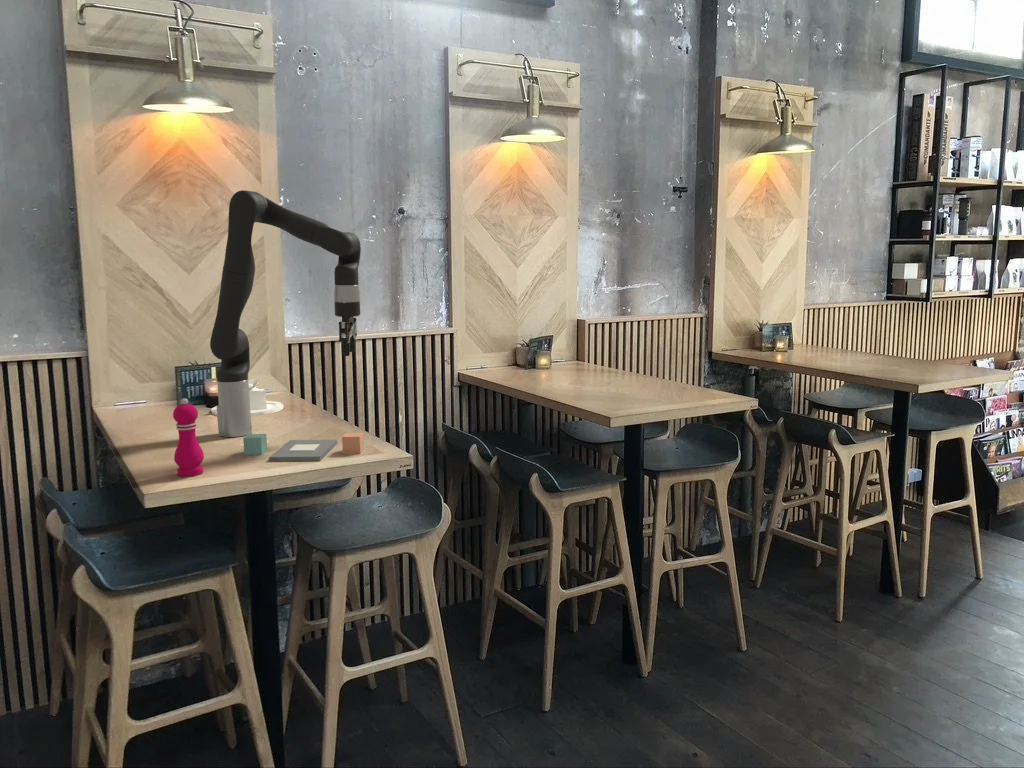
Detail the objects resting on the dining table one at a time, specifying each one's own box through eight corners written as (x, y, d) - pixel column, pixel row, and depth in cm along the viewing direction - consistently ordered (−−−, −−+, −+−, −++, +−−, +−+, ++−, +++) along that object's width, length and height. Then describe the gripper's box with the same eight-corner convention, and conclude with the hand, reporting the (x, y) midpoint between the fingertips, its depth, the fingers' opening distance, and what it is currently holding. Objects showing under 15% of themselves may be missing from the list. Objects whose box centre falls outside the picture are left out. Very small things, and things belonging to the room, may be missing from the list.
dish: (263, 401, 323) (261, 372, 321) (295, 410, 305) (293, 379, 303) (200, 410, 307) (197, 380, 305) (230, 420, 289) (227, 388, 287)
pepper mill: (180, 470, 224) (174, 396, 220) (208, 469, 224) (202, 395, 221) (171, 478, 217) (165, 401, 213) (200, 477, 217) (194, 400, 214)
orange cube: (342, 454, 239) (341, 436, 238) (346, 449, 244) (345, 432, 243) (360, 454, 239) (359, 436, 238) (364, 449, 244) (363, 432, 243)
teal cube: (244, 455, 240) (243, 438, 239) (250, 450, 245) (249, 434, 244) (262, 455, 239) (260, 437, 239) (267, 450, 244) (266, 433, 244)
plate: (269, 461, 232) (269, 456, 232) (290, 444, 252) (290, 439, 251) (320, 460, 231) (320, 455, 231) (337, 443, 251) (336, 438, 251)
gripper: (339, 298, 260) (341, 350, 263) (329, 301, 246) (331, 357, 249) (364, 298, 260) (365, 350, 263) (355, 301, 246) (356, 357, 249)
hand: (348, 353), depth 256 cm, fingers open, 8 cm apart
